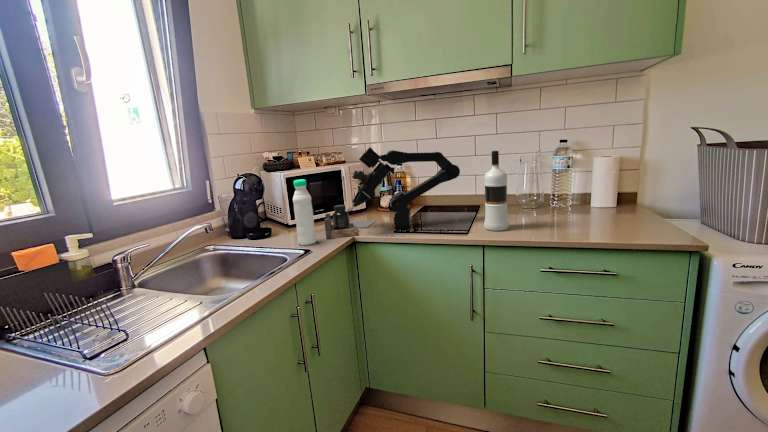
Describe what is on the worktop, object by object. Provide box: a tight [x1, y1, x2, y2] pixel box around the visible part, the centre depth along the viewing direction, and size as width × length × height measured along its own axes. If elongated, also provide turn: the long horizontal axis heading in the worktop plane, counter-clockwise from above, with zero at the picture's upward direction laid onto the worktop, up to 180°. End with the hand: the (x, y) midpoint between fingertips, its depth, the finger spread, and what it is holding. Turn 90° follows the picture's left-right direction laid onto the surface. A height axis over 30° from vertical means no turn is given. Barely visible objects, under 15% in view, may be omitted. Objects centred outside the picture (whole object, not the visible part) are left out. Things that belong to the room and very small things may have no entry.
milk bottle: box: [292, 178, 317, 246], centre depth 144 cm, size 7×7×25 cm
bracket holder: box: [323, 212, 358, 240], centre depth 156 cm, size 12×13×8 cm
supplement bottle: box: [331, 204, 351, 230], centre depth 156 cm, size 7×7×12 cm
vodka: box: [483, 150, 510, 232], centre depth 142 cm, size 9×9×30 cm
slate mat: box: [349, 220, 377, 229], centre depth 170 cm, size 12×12×1 cm
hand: (353, 204), depth 155 cm, fingers open, 9 cm apart
